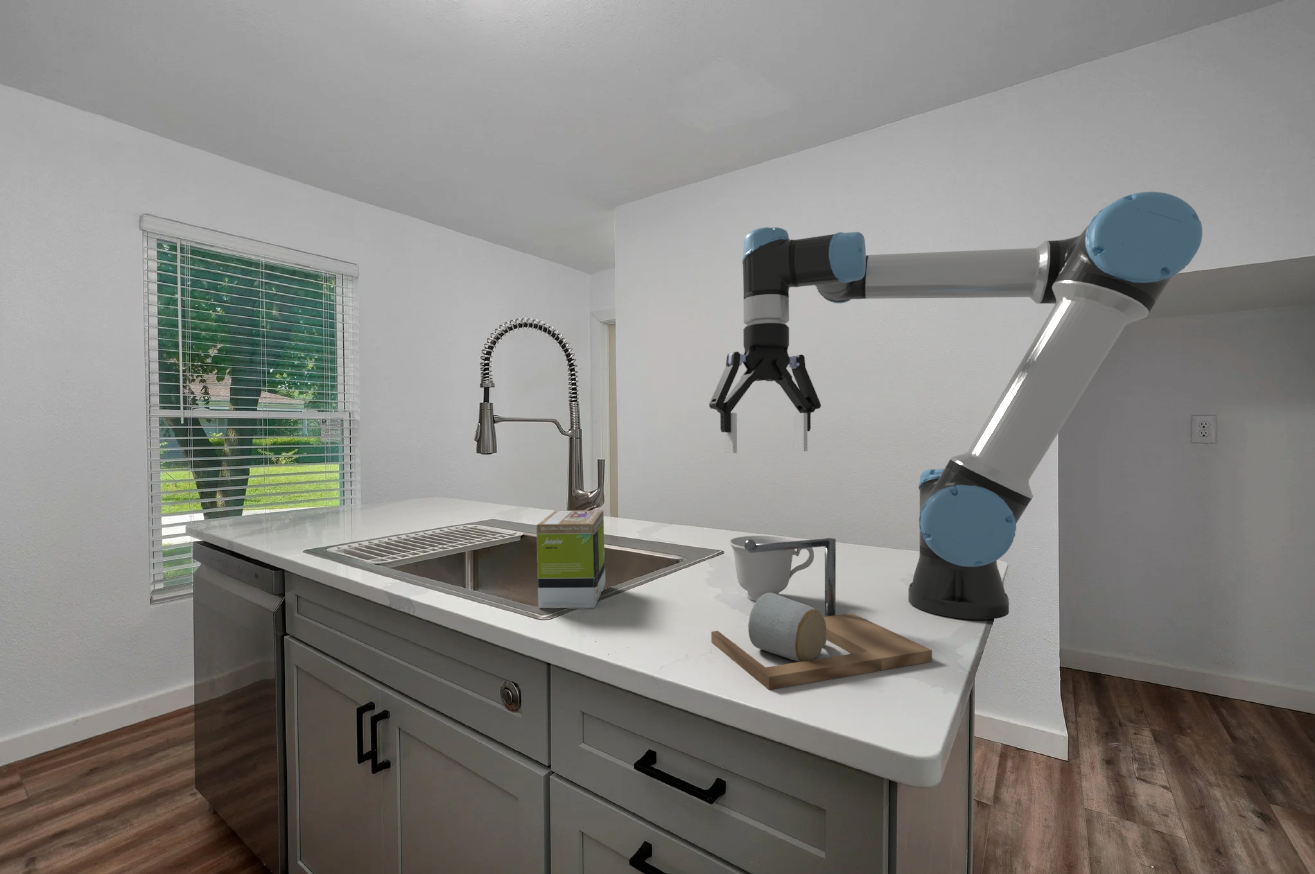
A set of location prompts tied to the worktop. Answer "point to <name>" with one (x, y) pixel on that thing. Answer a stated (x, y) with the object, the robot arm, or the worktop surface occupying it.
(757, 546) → the bent metal bar
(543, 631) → the worktop surface
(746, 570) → the teacup
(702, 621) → the worktop surface
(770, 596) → the ceramic mug
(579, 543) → the tea box
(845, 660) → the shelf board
